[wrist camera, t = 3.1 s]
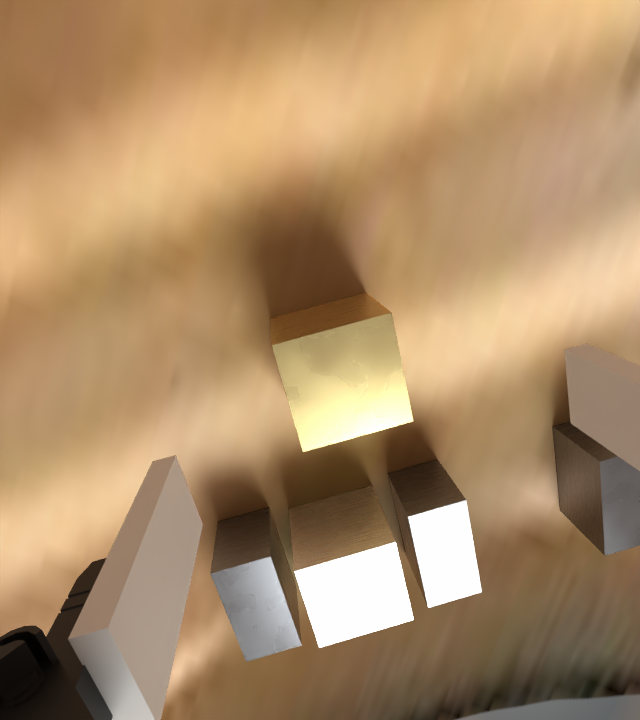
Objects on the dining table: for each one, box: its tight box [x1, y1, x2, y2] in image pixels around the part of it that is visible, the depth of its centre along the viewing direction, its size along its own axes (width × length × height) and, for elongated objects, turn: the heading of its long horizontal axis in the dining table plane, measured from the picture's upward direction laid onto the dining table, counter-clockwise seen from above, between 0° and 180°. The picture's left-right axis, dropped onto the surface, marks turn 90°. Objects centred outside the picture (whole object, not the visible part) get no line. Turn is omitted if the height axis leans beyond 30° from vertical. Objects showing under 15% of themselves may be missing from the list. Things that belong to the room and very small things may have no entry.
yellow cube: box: [270, 293, 413, 452], centre depth 22 cm, size 5×5×5 cm
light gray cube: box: [289, 485, 414, 648], centre depth 25 cm, size 5×5×5 cm
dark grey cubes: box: [211, 422, 640, 662], centre depth 26 cm, size 6×23×4 cm, turn 104°
